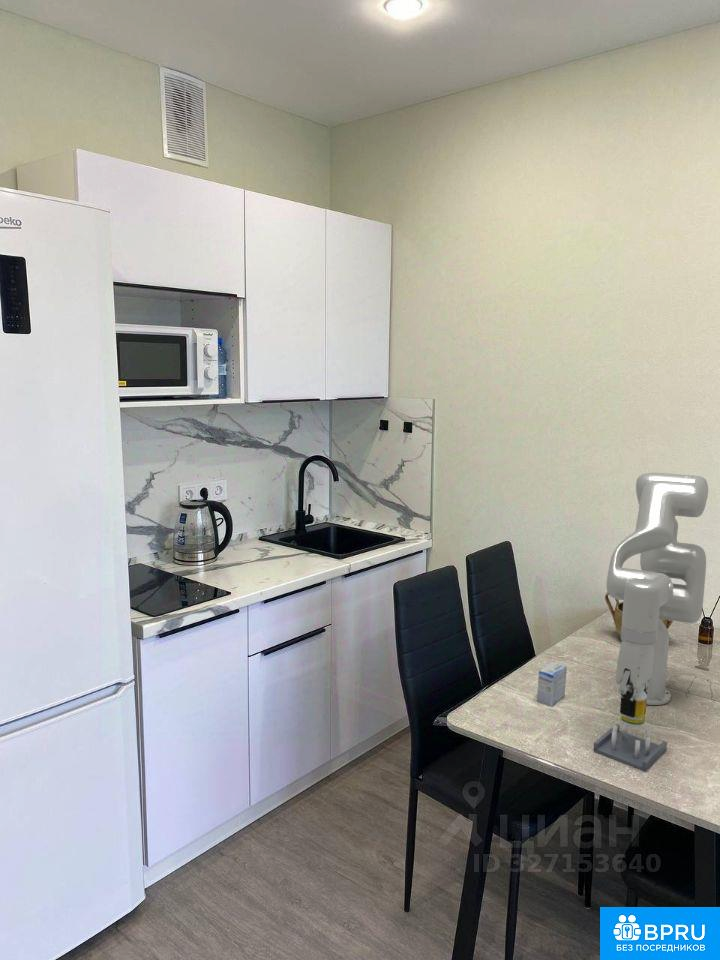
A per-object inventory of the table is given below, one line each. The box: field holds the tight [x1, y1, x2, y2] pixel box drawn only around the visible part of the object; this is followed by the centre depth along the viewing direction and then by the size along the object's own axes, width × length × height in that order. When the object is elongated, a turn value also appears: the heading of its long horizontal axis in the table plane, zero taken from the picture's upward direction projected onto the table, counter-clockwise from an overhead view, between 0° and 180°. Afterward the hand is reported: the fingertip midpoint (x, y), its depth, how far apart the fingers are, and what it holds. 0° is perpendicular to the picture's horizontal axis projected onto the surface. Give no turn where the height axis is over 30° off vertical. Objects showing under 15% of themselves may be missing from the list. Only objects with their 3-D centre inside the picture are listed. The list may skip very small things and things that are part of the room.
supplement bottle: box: [619, 682, 647, 728], centre depth 163 cm, size 5×5×10 cm
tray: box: [592, 723, 668, 773], centre depth 165 cm, size 12×12×5 cm
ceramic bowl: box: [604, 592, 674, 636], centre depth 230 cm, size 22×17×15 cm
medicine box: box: [536, 661, 568, 707], centre depth 190 cm, size 8×4×9 cm, turn 141°
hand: (633, 709), depth 163 cm, fingers closed on supplement bottle, 5 cm apart
